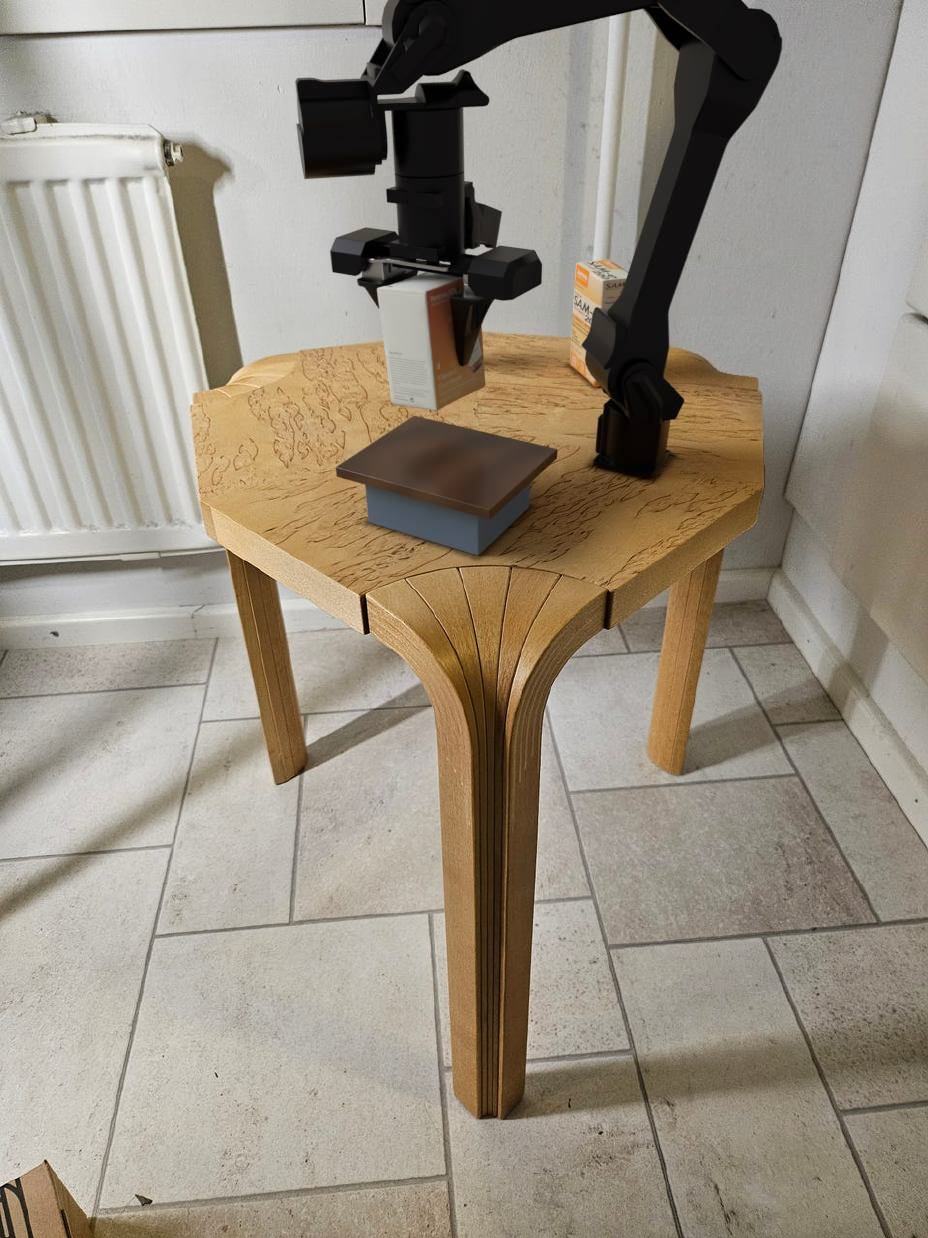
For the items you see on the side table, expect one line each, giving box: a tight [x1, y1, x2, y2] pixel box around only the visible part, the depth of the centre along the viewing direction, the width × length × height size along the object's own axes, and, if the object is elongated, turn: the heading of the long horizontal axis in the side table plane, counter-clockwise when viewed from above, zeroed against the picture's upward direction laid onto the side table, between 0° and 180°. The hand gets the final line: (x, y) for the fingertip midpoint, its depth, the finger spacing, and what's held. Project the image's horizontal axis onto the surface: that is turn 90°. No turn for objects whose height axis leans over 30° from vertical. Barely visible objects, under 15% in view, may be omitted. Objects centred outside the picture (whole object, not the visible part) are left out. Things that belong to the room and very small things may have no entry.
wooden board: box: [335, 415, 559, 520], centre depth 79 cm, size 16×13×1 cm
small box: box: [377, 272, 486, 412], centre depth 78 cm, size 8×6×10 cm
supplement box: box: [569, 258, 629, 388], centre depth 106 cm, size 8×5×13 cm, turn 17°
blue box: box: [364, 483, 531, 556], centre depth 80 cm, size 12×10×5 cm
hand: (436, 359), depth 79 cm, fingers closed on small box, 6 cm apart
